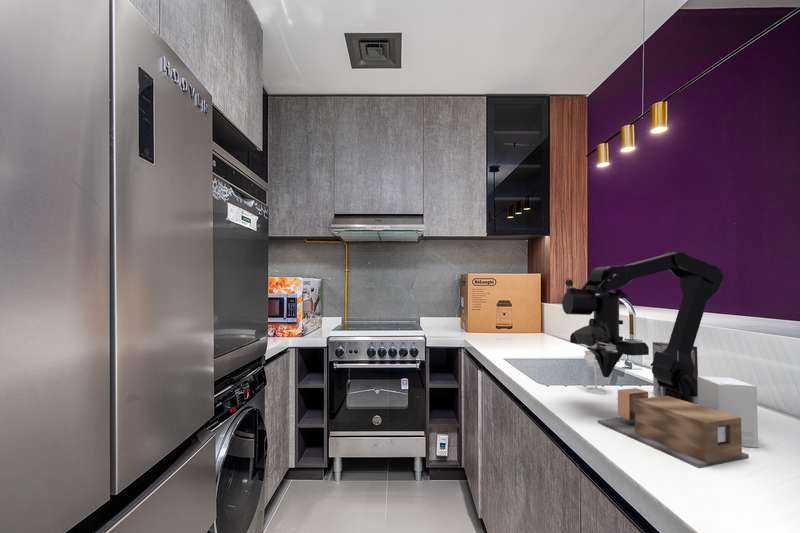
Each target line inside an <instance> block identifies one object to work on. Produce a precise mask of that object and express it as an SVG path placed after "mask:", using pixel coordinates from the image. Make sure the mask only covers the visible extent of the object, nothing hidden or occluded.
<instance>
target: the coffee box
mask: <svg viewBox="0 0 800 533" xmlns="http://www.w3.org/2000/svg"><path fill="white" fill-rule="evenodd" d="M668 344H669V342H662V341H661V342H660V341H659V342H658V341H657V342H656V341H654V342H652V361H653V360H654V354H655V352H656V351H658V352H663V351H664V350H665V349H666V348H667V347H668ZM691 358H692V361H693V364H694V376H693V377H694V378H695V379H696V380H697V381H698V376H699V368H698V367H699V365H698V364H699V363H698V361H699V360H698V346H694V345H693V349H692V352H691ZM652 375H653V374H652ZM652 380H653V384H652V385H653V395H654V397H660V396H665V390H666V388H664V387H660V386H659V385H658V382H657V379H656V378H655V377H654V375H653V376H652ZM695 404H697V405H698V396H697V397H695Z"/></svg>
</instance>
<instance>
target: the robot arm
mask: <svg viewBox="0 0 800 533" xmlns="http://www.w3.org/2000/svg"><path fill="white" fill-rule="evenodd" d="M668 270H669V272H670V273H671V274H672V275H673V276H674V277H676V278H677V279H679V281H680V282H679V287H680V291H681V293H682V298H681V302H680V305H679V308H678V312H677V315H676V318H675V322H674V324H673V327H672V332H671V335H670V337H669V341H668V343H669V344H668V347H667V348H666V349H665V350H664V351H663V352H658V351H656V352H655V354H654V360H653V359H652V362H651V364H650V366H651V373H652V375H654V377H655V378H656V379H657V382H658V385H659V386H660V387H664V388H666V390H665V396H670V397H673V398H677V399H680V400H683V401H687V402H690V403H693V404H696V403H695V397H697V396H698V381H697V380H696V379H695V378H694V377H693V376H694V364H693V361H692V358H691V352H692V349H693V346H694V345H695V341H696V338H697V335H698V333H699V328H700V326H701V323H702V319H703V316H704V313H705V309H706V305H707V302H708V301H710V299H711V298H712V297H714V296H715V294H716V293H718V292H719V290H720V287H721V286H722V284H723V282H724V277H725V276H724V275H725V274H724V272H722V269H720V268H719V267H718V266H716V265H715V264H710V263H708V262H706V261H703V260H700V259H698V258H695V257H692V256H690V255H688V254H686V253H684V252H681V251H675V252H673V251H672V252H666V253H664V254H661V255H658V256H654V257H650V258H647V259H643V260H639V261H635V262H631V263H628V264H623V265H613V266H612V265H608V266H599V267H596V268H593V269H592V271H591V273H590V276H589V278H588V280H587V281H586V282H585V283H584V285H583V286H582V287H581V288H576V287H567V288H566V292H565V293H564V296H563V298H562V300H561V305H562V310H563V313H565V314H566V315H575V316H577V315H579V316H591V315H593V318H589V320H588V325H585V326H582V327H581V328H578V329H576V330H574V332H572V333H571V335H570V336H569V339H570V340H569V342H570V343H571V344H575V345H584V346H586V350H587V351H591V352H592V353H593V354H594V355H595V356H596V359H597V361H598V364H599V366H600V371H601V375H602V376H603V377H604V378H610V377H611V374H612V373H613V370H614V369H615V367H616V365H617V364H618V362H619V360H620V359H621V358H622V356H623V355H626V356H633V357H634V356H649V355H650V352H649V351H650V349H649V348H650V347H649V346H648V344H647V343H646V342H644V341H643V342H642V341H637V340H631V339H630V340H624V337H623V336H621V335H620V325H623V324H624V319H623V320H622V319H620V299H628V298H629V295H628V294H626V293H625V292H624V291H623V290H622V289H621V287H624V286H625V285H628V284H629V283H631V282H632V281H633V280H636V279H639V278H642V277H646V276H649V275H654V274H657V273H660V272H663V271H664V272H665V271H668ZM611 290H612V291H611ZM596 293H599V294H598V295H597V294H596Z"/></svg>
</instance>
